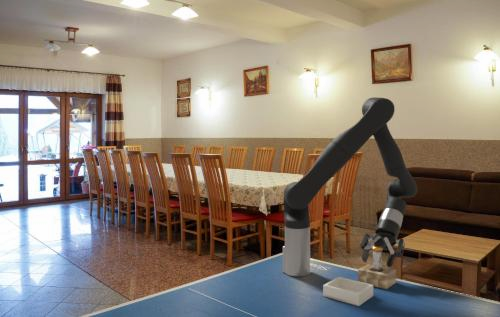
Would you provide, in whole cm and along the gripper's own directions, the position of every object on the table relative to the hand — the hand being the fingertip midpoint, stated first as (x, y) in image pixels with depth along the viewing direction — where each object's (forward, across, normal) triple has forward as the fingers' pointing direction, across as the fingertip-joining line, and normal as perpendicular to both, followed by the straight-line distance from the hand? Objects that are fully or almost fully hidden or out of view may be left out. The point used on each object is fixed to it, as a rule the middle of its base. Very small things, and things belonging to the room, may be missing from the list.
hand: (376, 263), depth 141 cm
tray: (+16, -2, -7) cm, 18 cm away
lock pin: (+4, 0, +6) cm, 7 cm away
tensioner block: (+4, 0, +6) cm, 7 cm away
